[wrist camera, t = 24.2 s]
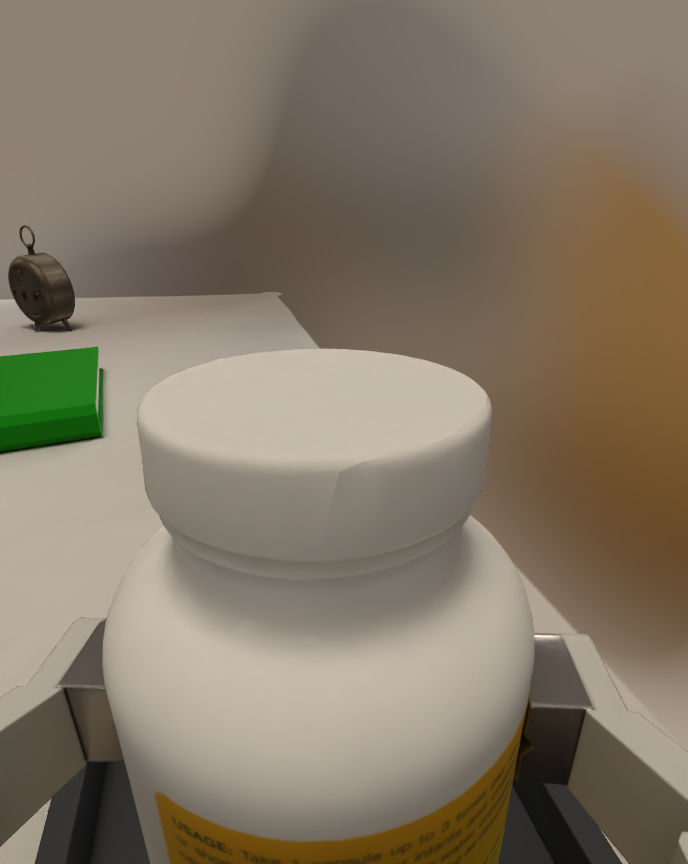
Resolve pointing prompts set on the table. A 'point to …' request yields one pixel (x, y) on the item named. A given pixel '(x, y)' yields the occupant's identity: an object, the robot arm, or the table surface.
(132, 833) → the tray
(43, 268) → the alarm clock
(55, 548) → the table surface
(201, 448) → the supplement bottle
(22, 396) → the book
